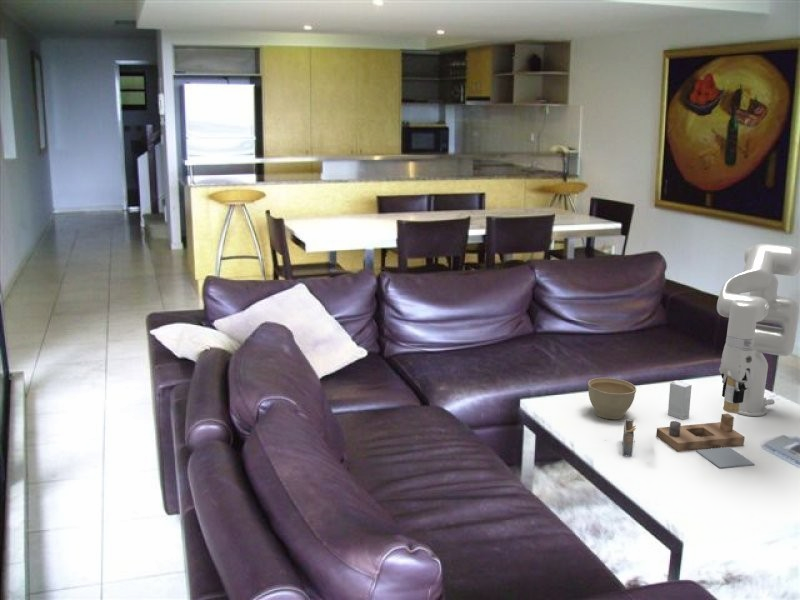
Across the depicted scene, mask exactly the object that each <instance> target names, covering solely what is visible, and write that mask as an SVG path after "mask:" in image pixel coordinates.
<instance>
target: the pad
mask: <svg viewBox="0 0 800 600" xmlns="http://www.w3.org/2000/svg"><path fill="white" fill-rule="evenodd" d="M695 452H696V453H697V454H699V456H701V457H702V458H704V459H705V460H706V461H708V462H709V463H710V464H712V465H713V466H715V467H717V468H718V469H720V470H722V469H728V468H729V469H730V468H739V467H740V468H741V467H748V466H755V463H754V462H753V461H751V460H750V459H748V458H747V457H745V456H744V455H742V454H740V453H739V452H738V451H737V450H735V449H733V448H732V447H723V448H713V449H703V450H695Z"/></svg>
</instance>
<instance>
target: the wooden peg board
mask: <svg viewBox="0 0 800 600" xmlns="http://www.w3.org/2000/svg"><path fill="white" fill-rule="evenodd" d="M734 421H735V417H734V416H733V415H732V414H731V413H721V418H720V422H719V421H718V422H707V423H698V424H697V423H696V424H687V425H682V424H681V422H680V421H676V420H671V421H670V423H669V426H663V427H662V426H661V427H657V428H656V437H657V439H659V440H661V441H662V443H664V444H665V445H667V446H668V447H670V448H671V449H672V450H673V451H675V452H676V453H681V452H690V451H691V452H692V451H696V450H704V449H711V448H713V449H714V448H721V447H723V448H724V447H730V448H732V447H742V446H744V445H745V444H744V443H745V439H746V438H745V436H744V435H743V434H741V433H739V432H738V431H736V430H735V429H733V428H734Z"/></svg>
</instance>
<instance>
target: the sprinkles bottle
mask: <svg viewBox="0 0 800 600" xmlns="http://www.w3.org/2000/svg"><path fill="white" fill-rule="evenodd" d="M727 374H728V375H729V376H727V384H726V390H725V397H723V398H724V400H723V407H722V410H723V411H724V412H727V413H728V414H738V413H737V412H739V403H733V395H734V390H736V380H734V379H732V378H731V377H730V376H731V373H730V371H728V373H727ZM740 385H742V383H740Z"/></svg>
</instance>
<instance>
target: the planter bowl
mask: <svg viewBox="0 0 800 600" xmlns="http://www.w3.org/2000/svg"><path fill="white" fill-rule="evenodd" d="M587 386H588V398H589V401H590V404H591V406H592V408H593V409H594V413H595V415H596V416H598V417H600V418H603V419H607V420H619V419H622V418H623V417H624V415H625V413H626V412H627V411H628V410H629V409H630V407H631V406H632V405H633V403H634V400H635V396H636V392H637V387H636V385H634V384H633V383H631V382H629V381H628V380H627V381H626V380H623V379H620V378H619V379H618V378H615V377H614V378H611V377H597V378H593V379H590V380H589V381H588V384H587Z"/></svg>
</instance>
